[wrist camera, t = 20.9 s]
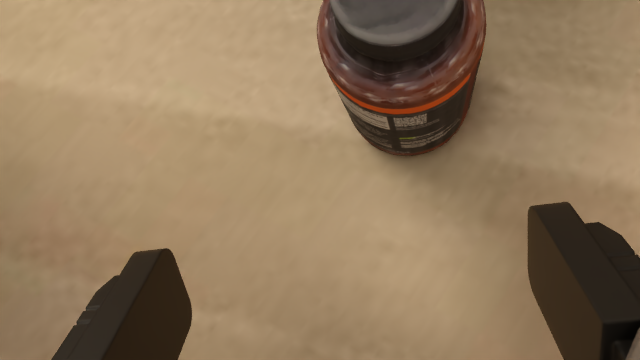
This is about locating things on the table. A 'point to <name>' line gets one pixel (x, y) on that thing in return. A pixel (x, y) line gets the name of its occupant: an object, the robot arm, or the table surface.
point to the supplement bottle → (403, 66)
